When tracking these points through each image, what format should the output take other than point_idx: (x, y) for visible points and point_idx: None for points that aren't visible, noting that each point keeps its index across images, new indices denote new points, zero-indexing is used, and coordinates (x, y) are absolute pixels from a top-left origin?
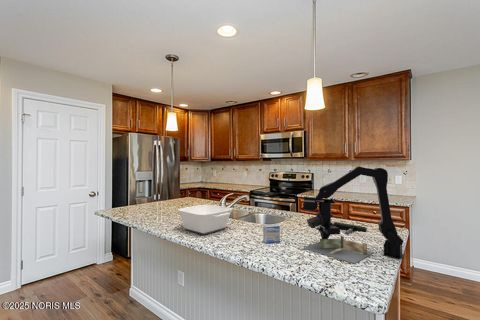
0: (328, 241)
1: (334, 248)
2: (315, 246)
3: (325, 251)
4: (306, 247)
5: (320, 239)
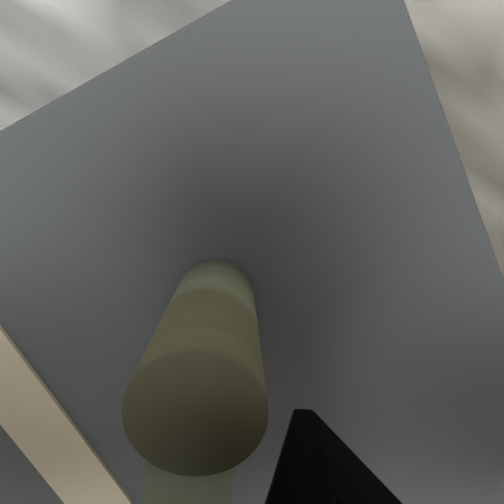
0: None
1: None
2: (363, 243)
3: (61, 279)
4: (367, 9)
5: (165, 352)
